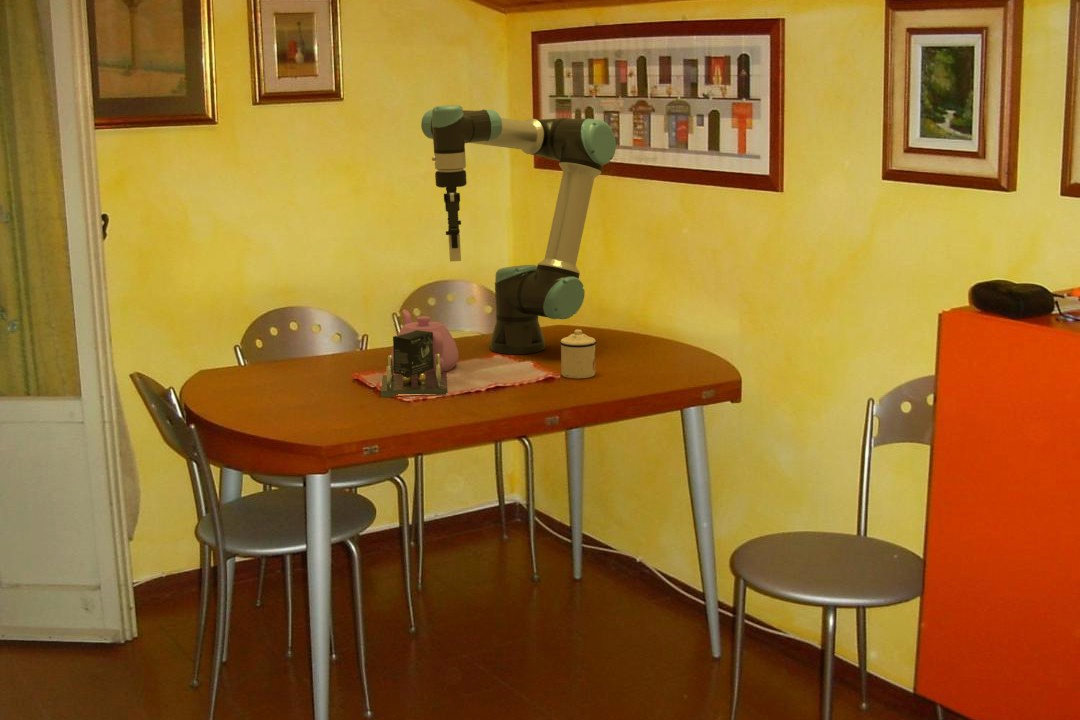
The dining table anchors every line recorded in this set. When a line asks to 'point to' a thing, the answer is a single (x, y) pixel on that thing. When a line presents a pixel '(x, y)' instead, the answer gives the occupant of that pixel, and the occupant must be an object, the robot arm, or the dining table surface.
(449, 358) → the teapot
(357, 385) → the dining table surface
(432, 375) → the chassis
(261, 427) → the dining table surface
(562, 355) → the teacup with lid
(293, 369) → the dining table surface
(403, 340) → the box
